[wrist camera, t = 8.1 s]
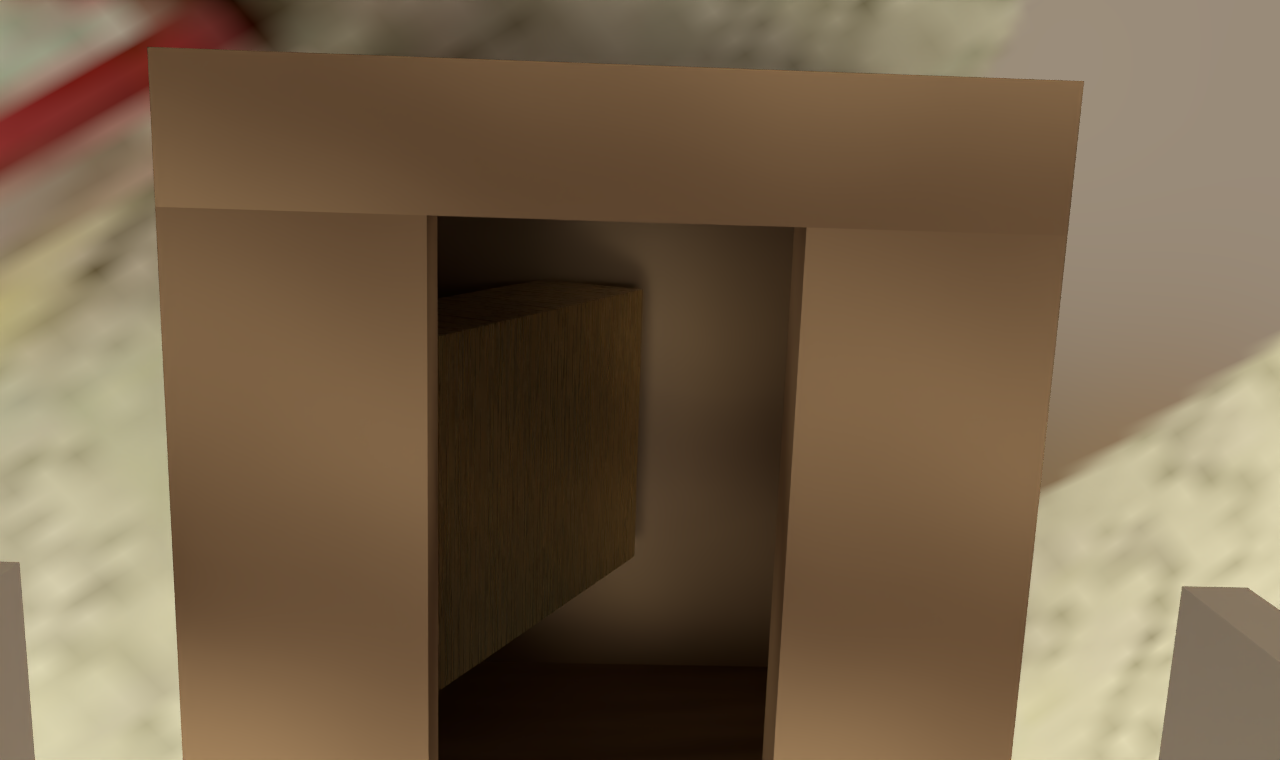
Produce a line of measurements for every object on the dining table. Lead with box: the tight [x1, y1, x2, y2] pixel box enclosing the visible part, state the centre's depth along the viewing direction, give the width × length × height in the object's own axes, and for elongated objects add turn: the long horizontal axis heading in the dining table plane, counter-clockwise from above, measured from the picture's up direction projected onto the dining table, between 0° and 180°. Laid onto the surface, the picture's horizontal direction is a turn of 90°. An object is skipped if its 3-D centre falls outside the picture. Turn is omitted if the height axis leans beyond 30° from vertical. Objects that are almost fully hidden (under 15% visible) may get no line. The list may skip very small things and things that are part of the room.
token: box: [438, 280, 643, 691], centre depth 22 cm, size 6×2×8 cm, turn 178°
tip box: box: [147, 47, 1084, 760], centre depth 22 cm, size 14×12×11 cm
